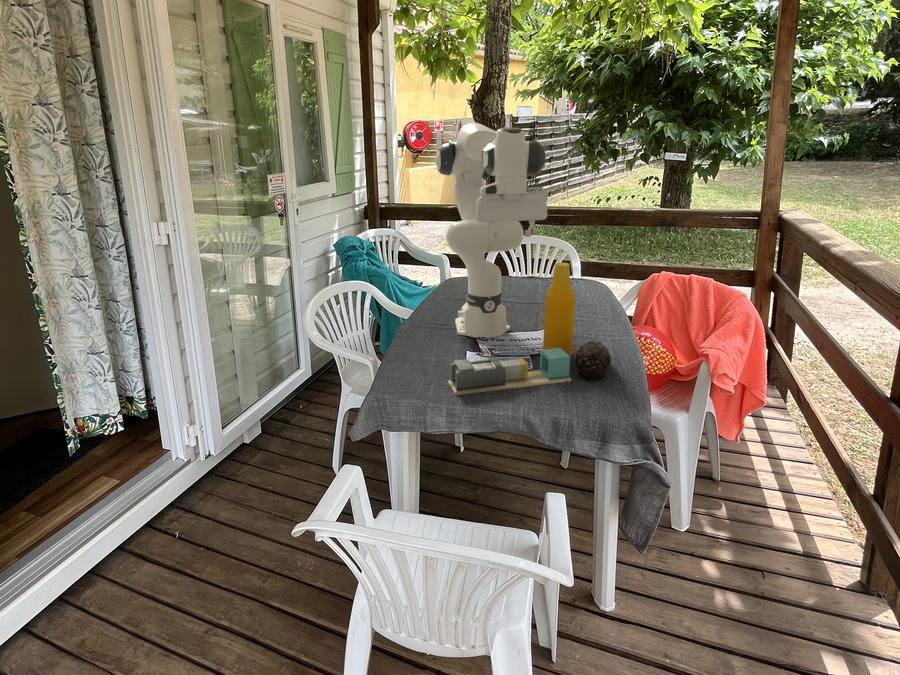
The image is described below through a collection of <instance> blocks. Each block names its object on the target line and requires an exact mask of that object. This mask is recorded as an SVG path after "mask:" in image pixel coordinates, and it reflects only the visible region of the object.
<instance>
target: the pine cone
mask: <svg viewBox="0 0 900 675" xmlns="http://www.w3.org/2000/svg"><path fill="white" fill-rule="evenodd" d="M574 363H575V367H576V370H578V372H577V376H578V378H579V379H583V380H585V381H590V382H597V383H599V382H603V381H604V380H605V379H606V378H607V371H608V370H609V368H610V366H611V363H612V357H611V354H610V352H609V350H608V348H607V347H606V346H605V345H604V344H603V343H602V342H600V341H594V340H589V341H588V342H587V343H584V344H583V345H581V346H579V348H578V350H577V352H576V353H575V356H574Z"/></svg>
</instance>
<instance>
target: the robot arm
mask: <svg viewBox="0 0 900 675" xmlns="http://www.w3.org/2000/svg"><path fill="white" fill-rule="evenodd" d="M457 133H458V134H457V139H456V141H452V140H448V141H447V143H444V144H442V145H440V147H438V148H437V150H436V154H435V158H434V159H435V166H436V169H437V171H438V172H439V174H440V175H444V176H459V177H457V178H456V180H455V182H454V185H453V196H454V200H455V204H456V208H457V210H458V213H459V216H460V218H461V220H458V221H454V222H452V223H451V224H450V225H449V226H448V228H447V231H446V233H445V234H446V235H445V237H446V239H445V240H446V243H447V246H448V248H449V249H450V250H451V251H452V252H453V253H455V254H456V256H458V257H459V258H460V259H461V261H462V262H463V263H464V265H465V267H466V272H467V285H468V286H467V290H468V291H467V293H466V300H465V301H466V302H465V303H464V304H463V305H462V307H461V310H458V311H457V317H456V318H455V320H454V322H455V327H456V332H457V335H459V336H468V337H471V338H476V339H477V338H478V337H480V338H478V339H482V338H481V337H485V338H484V339H492V338H491V337H494V338H497V336H498V337H500V336H503V335H504V334H505V333H507V332H508V331H510V330H511V326H510V325H508V324H507V310H506V309H507V308H506V306H505V305H503V292H502V271H501V269H500V267H499V266H498V265H496V264H495V263H493V262H491V261H489V260H486V259H485V258H486V257H485V254H487V253H497V252H507V251H510V250H511V251H512V250H515V249H518V248H519V247H520V246H521V244H522V243H523V241H524V236H525V237H528V238H529V237H532V230H533V228H534V226H535V223H536V221H545V220H546V219H547V217H548V206H547V202H548V200H549V192H548V190H547V188H544V187H543V186H528V176H530V177H535V176H537V175H538V174H540V172H541V171H542V170H543V169H544V167H545V165H546V158H547V157H546V151H545V148H544V147H543V145H542V144H541V143H539V142H538V141H537V140H526V134H525V131H524V130H523V129H522V128H519V127H501V128H499V129H497V130H494V129H492V128H489V127H487V126H485V125H484V124H482V123H478V122H470V123H466V124H464V125H463V126H462V127H461V128H460V129H459V131H458V132H457ZM490 176H492V177H494V180H495V181H494V182H492V183H489V184H487V185H484V186H483V182H482V181H483V180H484V181H486V180H488V179H489V177H490ZM521 221H522V222H523V221H528V224H529V226H528V229H524V228H523V225H522V224H521ZM486 337H488V338H486ZM489 337H490V338H489Z"/></svg>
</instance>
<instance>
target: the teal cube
mask: <svg viewBox="0 0 900 675" xmlns="http://www.w3.org/2000/svg"><path fill="white" fill-rule="evenodd" d="M539 358H540V360H539V370H540V372H541V373H542V374H543V375H544V376H545V377H546V378H547V379H548V380H556V379H565V378H569V377H570V365H571V356H569V355H568V354H567V353H565V352H564V351H563V350H562V349H561V348H553V349H544V350H543V349H540V357H539Z"/></svg>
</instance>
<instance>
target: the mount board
mask: <svg viewBox="0 0 900 675" xmlns="http://www.w3.org/2000/svg"><path fill="white" fill-rule="evenodd" d="M566 381H568V382H571V381H572V378H571V377H570V376H569V378H565V379H556V380H548V379H547V378H546V377H545V376H544V375H543V374H542V373H541V372H540V369H539V370H529V371H528V375H527V377H525V378H515V379H506V380H505V386H496V387H488V388H479V389H471V390H462V391H456V389H455V388H454V386H453V385H452V383H451V381H450V379H449V380H448V381H447V383H448V384H447V385H449V387H450V389H451V390H452V392H453V394H454V395H455V396H457V395H458V396H459V395H466V394H474V393H475V394H476V393H483V392H490V391H491V392H492V391H500V390H509V389H517V388H525V387H534V386H541V385H549V384H551V385H552V384H558V382H559V383H566Z"/></svg>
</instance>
